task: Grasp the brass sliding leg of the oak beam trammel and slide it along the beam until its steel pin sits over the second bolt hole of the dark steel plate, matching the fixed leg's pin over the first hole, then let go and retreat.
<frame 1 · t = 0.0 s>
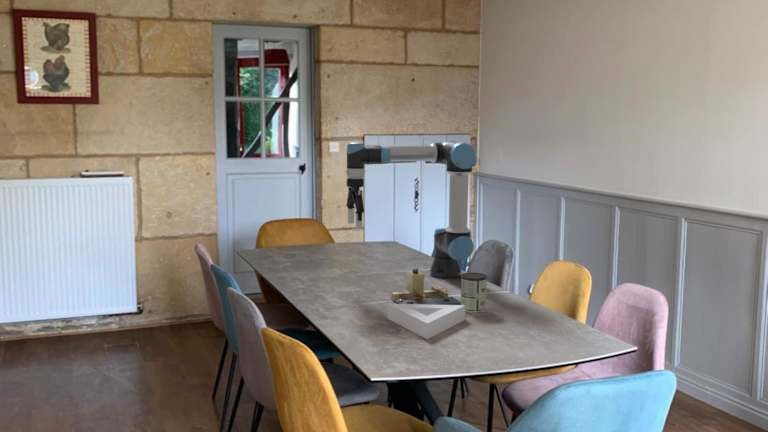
hand: (354, 225, 347), 28 cm above the table, fingers open, 13 cm apart
coffee can: (473, 309, 316), on the table
triangle block: (416, 325, 295), on the table
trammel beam: (419, 298, 332), on the table
bolt plate: (428, 305, 322), on the table
sliding leg: (418, 284, 327), point 7 cm above the table, slide at 2.0 cm
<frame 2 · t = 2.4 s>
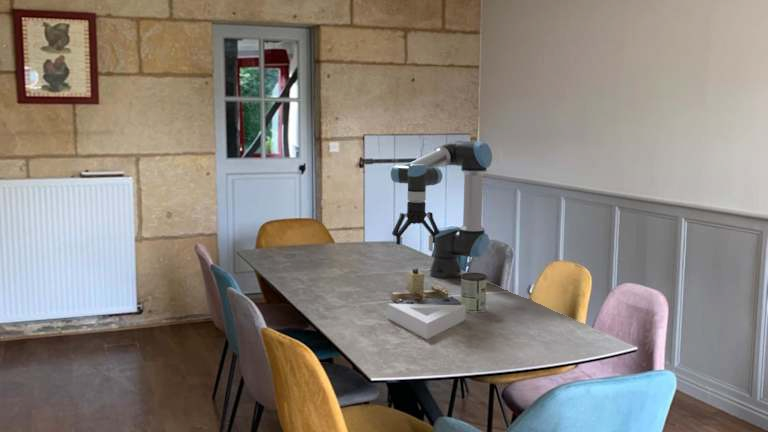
hand: (415, 251, 329), 20 cm above the table, fingers open, 13 cm apart
nothing on the table moved.
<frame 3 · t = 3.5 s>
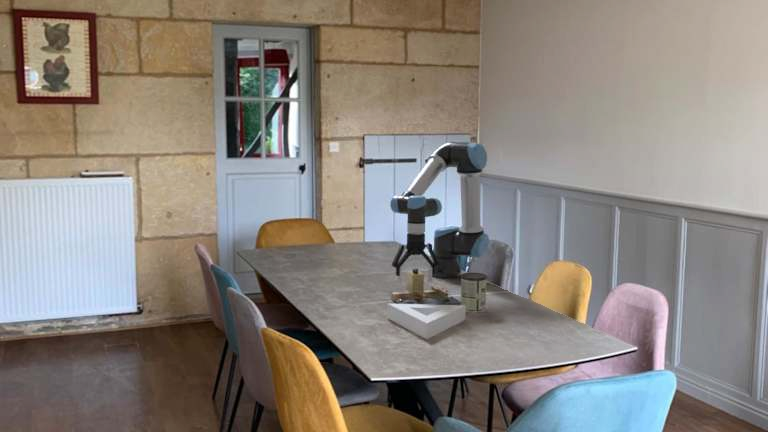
hand: (414, 282, 330), 7 cm above the table, fingers open, 13 cm apart
nothing on the table moved.
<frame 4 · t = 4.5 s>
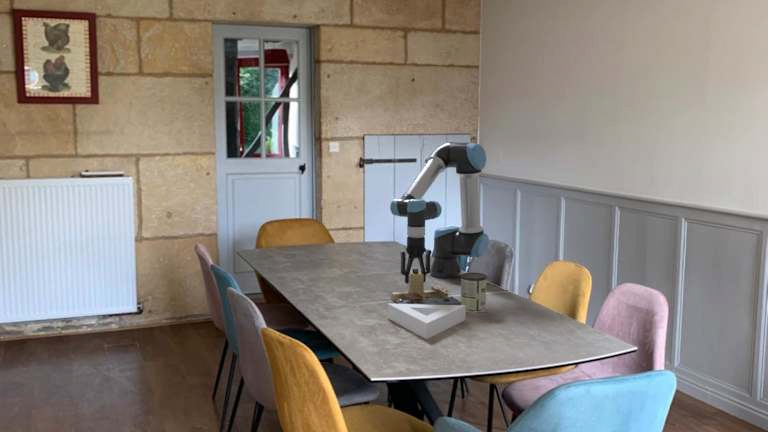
hand: (415, 290, 331), 4 cm above the table, fingers closed on sliding leg, 5 cm apart
sliding leg: (418, 284, 327), point 7 cm above the table, slide at 2.0 cm, touching gripper
everything else where it was.
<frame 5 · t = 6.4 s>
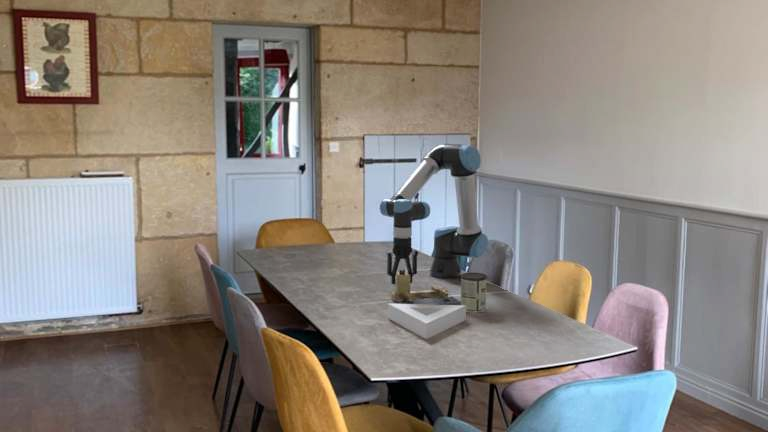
hand: (401, 291, 329), 4 cm above the table, fingers closed on sliding leg, 5 cm apart
sliding leg: (405, 284, 325), point 7 cm above the table, slide at 8.0 cm, touching gripper
everything else where it was.
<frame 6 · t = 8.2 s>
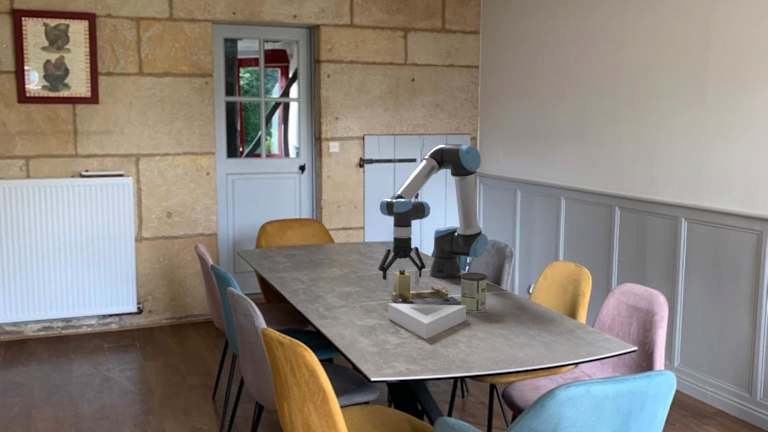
hand: (401, 286, 329), 6 cm above the table, fingers open, 13 cm apart
sliding leg: (405, 284, 325), point 7 cm above the table, slide at 8.0 cm
everything else where it was.
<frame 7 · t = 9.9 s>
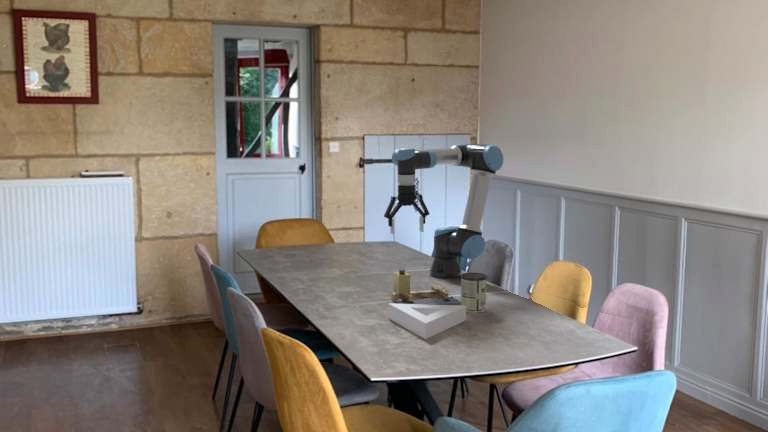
hand: (407, 232, 341), 26 cm above the table, fingers open, 13 cm apart
nothing on the table moved.
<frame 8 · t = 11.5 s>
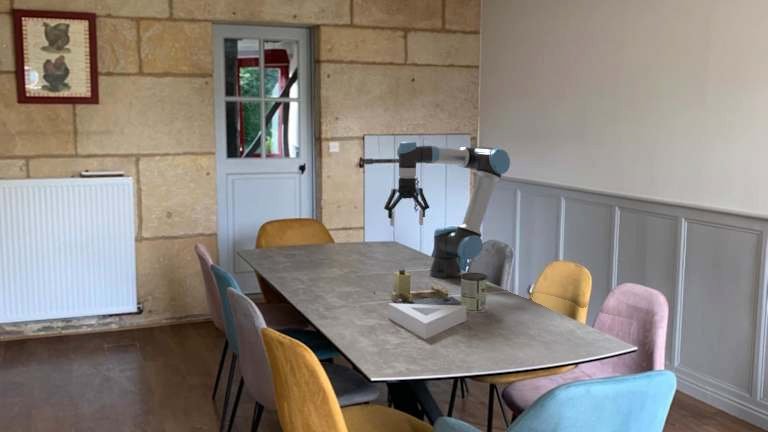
hand: (406, 225, 345), 29 cm above the table, fingers open, 13 cm apart
nothing on the table moved.
at the end: sliding leg slide at 8.0 cm; the gripper is holding nothing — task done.
